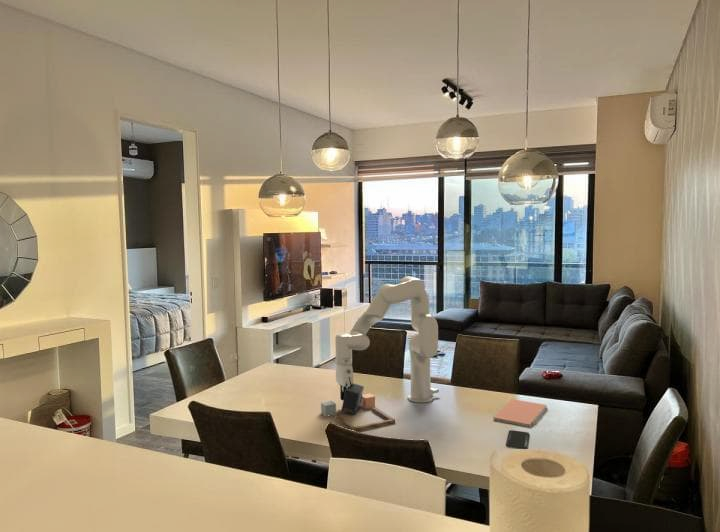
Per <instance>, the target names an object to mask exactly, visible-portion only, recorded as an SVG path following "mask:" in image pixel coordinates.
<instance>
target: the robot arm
mask: <svg viewBox="0 0 720 532" xmlns="http://www.w3.org/2000/svg"><path fill="white" fill-rule="evenodd" d="M409 300H410V305H411V307H410V308H411V312H410V313H411V317H410V320H411V321H410V324H411V327H412V329H413V330H414V331H416V332H417V333H416V334H413V335H412V336H411V337H410V339H409V342H408V349H409V357H410V394H408V395H407V399H408V401H410V402H413V403H417V404H418V403H419V404H423V403H430V402H432V401H434V399H435V398H434V397H435V396H434V394H437V393H439V392H440V389H439V388H433V387H432V388H431V384H432V383H431V358H434V357H435V356H436V355H437V352H438V349H439V325H438V321H437V319H436V318H435V317H434V316H433V315H431V314H430V301H429V295H428V292H427V290H426V286H425V283H424V281H423V280H422V279H421V278H417V277H413V276H411V275H410V276H409V275H408V276H407V275H406V276H404V277H402V278H401V279H400V282H399V283H398V284H391V283H385V284H384V283H383V284H381V286H380V288H379V289H378V290H377V292H376V294H375V296H374V297H373V299H372V301H371V303H370V304H369V306H367V309H366V310H365V311H364V312H363V313H362V314H361V316H360V317H358V319H357V321H355V323H354V325H353V327H352V328H351V330H350V332H349V333H346V332H345V333H337V334H336V336H335V365H336V367H335V368H336V369H335V380H336V381H335V382H336V383H338V386H339V390H340V391H339V393H340V400H341V401H344V395H345V390H346V389H347V388H348V387H349V386H350V384H351V385H352V386H353V385H354V384H355V383H354V369H353V350H354V351H364V350H367V349H368V348H369V346H370V345H371V344H370V343H371V342H370V338H369V336H368V335H367V333H368V332H369V330H370V328H371V327H372V326H374V325H376V324H377V323H379V322H380V321H383V320H384V318H385V316H386V315H387V313H388V311H389V309H390V308H391V306H392V305H394V304H395V305H397V304H400V303H403V302H406V301H409Z"/></svg>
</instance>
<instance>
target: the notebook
mask: <svg viewBox="0 0 720 532" xmlns="http://www.w3.org/2000/svg"><path fill="white" fill-rule="evenodd" d="M547 410H548V406H547V404H542V403H538V402H537V403H536V402H532V401H525V400H519V399H512V398H511V400H510V401H509V402H507V403H506V404H505V405H504V406H503V407H502V408H500V410H499V411H497V413H495V414H494V415H493V416H492V418H493V421H498V422H503V423H506V424H507V423H509V424H513V425H517V426H522V427H523V426H524V427H528V428H532V426H535V425H536V424H537V423H538V421H539V420H540V419H541V418H542V417H543V416H544V414H545V413H546V412H547Z"/></svg>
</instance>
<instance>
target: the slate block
mask: <svg viewBox="0 0 720 532" xmlns="http://www.w3.org/2000/svg"><path fill="white" fill-rule="evenodd" d="M320 406H321V407H320V409H321V411H320V412H321V414H322V413H323V414H324V415H325V416H324V415H323V414H322V415H323V416H324V417H326V416H327V417H329V416H328V415H332V416H335V415H334V414H336V415H337V403H335V402H333V401H332V400H326V401H322V402H320Z"/></svg>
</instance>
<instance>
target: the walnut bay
mask: <svg viewBox="0 0 720 532" xmlns="http://www.w3.org/2000/svg"><path fill="white" fill-rule="evenodd" d="M371 411H372V412H373V413H374V412H375V415H378V416H379V417H380V418H383V419H384V420H381V421H376V422H372V423H367V424H363V425H358V426H354V425H353V424H352V423H350V422H348V421H347V420H346V419H344V418H343V417H342V416H341V415H339V414H336V415H334V419H335V420H336V421H337V422H338V423H340V424H342V425H343V426H344V427H345V428H347V430H349V429H351V430H354V431H358V432H361V431H366V430H370V429H376V428H380V427H385V426H389V425H394V424H396V419H395V418H393V417H391V416H390V415H388V414H386V413H385V412H383V411H382V410H380V409H379V408H377V407H372V408H371ZM351 430H350V431H351Z"/></svg>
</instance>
